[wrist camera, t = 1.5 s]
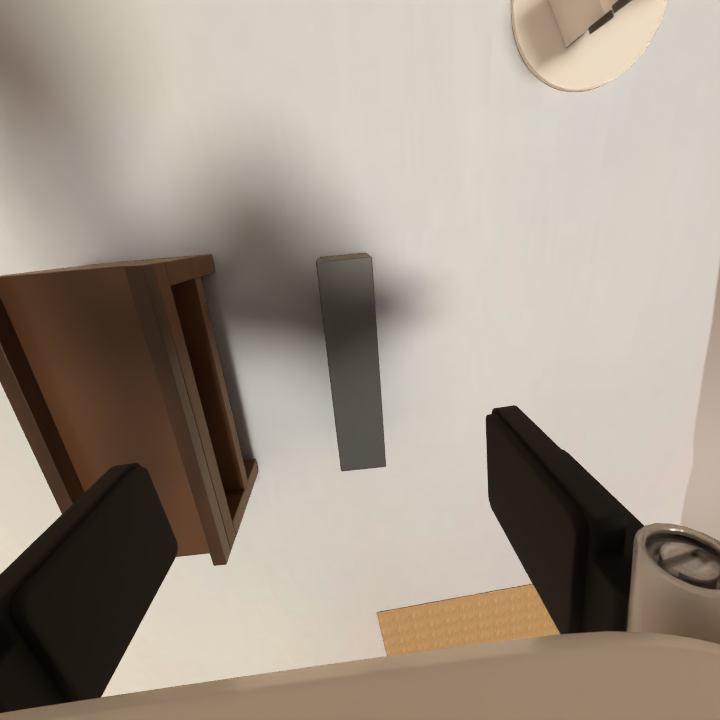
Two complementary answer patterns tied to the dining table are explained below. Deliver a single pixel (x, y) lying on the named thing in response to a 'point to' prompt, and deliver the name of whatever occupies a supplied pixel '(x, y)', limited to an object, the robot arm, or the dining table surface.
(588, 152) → the dining table surface
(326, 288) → the case
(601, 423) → the dining table surface
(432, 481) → the dining table surface
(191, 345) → the shelf
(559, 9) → the panda standee
